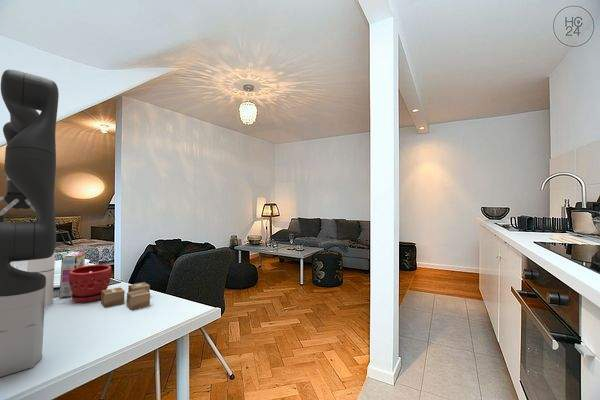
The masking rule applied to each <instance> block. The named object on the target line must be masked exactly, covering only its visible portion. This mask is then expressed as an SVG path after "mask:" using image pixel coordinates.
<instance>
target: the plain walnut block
mask: <svg viewBox="0 0 600 400" xmlns="http://www.w3.org/2000/svg"><path fill="white" fill-rule="evenodd" d="M125 305H126V307H127V309H129V310H130V311H131V310H132V311H135V309H136V310H140V309H139V308H141V309H144V307H145V308H148V307H147V306H149V307H150V305H151V292H150V293H149V292H148V291H147V290H145V289H144V290H139V291H134V292H126V304H125Z"/></svg>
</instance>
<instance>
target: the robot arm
mask: <svg viewBox="0 0 600 400" xmlns="http://www.w3.org/2000/svg"><path fill="white" fill-rule="evenodd" d="M0 79H1V80H0V93H1V97H2V100H3V102H4V105H5V107H6V108H7V110H8V112H9V116H10V118H9V119H10V121H9V122H6V123H4V125H3V127H2V132H3V133H2V134H3V136H4V138H5V142H6V146H5V152H4V167H3V168H4V172H5V175H6V189H5V191H6V192H5V193H6V194H5V195H4V196H0V203H1V202H2V201H4V202H6V203H7V205H6V206H5V207H4V208H2V209H1V210H0V378H2V377H6V376H8V375H11V373H12V374H15V373H18V372H22V371H25V370H28V369H31V368H34V367H35V365H36V364H37V363H38V362H39V361H41V360H42V357H43V343H44V326H45V325H44V324H45V307H46V306H45V290H46V277H45V275H43V274H40V273H34V272H27V270H23V269H19V268H17V267H14V266H13V265H11V264H12V263H13V262H25V261H28V260H32V259H33V260H37V259H45V258H49V257H51V256H52V255H53V254H54V251H55V252H56V247H57V223H56V210H55V209H56V208H55V207H56V206H55V189H56V188H55V187H56V185H55V183H56V173H57V172H56V171H57V149H56V147H57V146H56V145H57V144H56V128H57V127H56V126H57V117H58V108H59V99H60V98H59V95H60V94H59V88H58V85H57V83H56V82H55V81H53V80H52V79H50V78H46V77H43V76H39V75H36V74H32V73H28V72H24V71H20V70H16V69H6V70H4V71H3V72H2V75H1V78H0ZM38 111H40V113H39V112H38ZM10 209H14V210H15V209H16V210H20V209H24V210H29V209H32V210H33V211H34V212H35V214H36V217H35V218H36V220H35V221H34V220H33V221H30V220H29V221H5V214H6V213H7V212H8V211H9V210H10Z"/></svg>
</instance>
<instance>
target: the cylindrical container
mask: <svg viewBox="0 0 600 400" xmlns="http://www.w3.org/2000/svg"><path fill="white" fill-rule="evenodd" d="M55 259H56V250H55V251H54V254H53V255H52V256H51V257H49V258H45V259H37V260H33V259H32V260H27V267H26V271H27V272H34V273H40V274H43V275H45V277H46V290H45V307H48V306H50V305H53V301H54V300H53V299H54V284H55V283H54V282H55V266H56V265H55V264H56V263H55V261H56V260H55Z"/></svg>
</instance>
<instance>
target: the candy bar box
mask: <svg viewBox="0 0 600 400" xmlns="http://www.w3.org/2000/svg"><path fill="white" fill-rule="evenodd" d="M85 260H86V251H71V252H69V253H67V254H64V255H63V256H61V267H60V279H59V280H60V281H59V297H58V298H59V299H62V298H71V296H72V295H73V293H72V291H71V289H70V285H69V271H71V270H72V269H75V268H78V267H83V266H85ZM77 282H78V281H77Z"/></svg>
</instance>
